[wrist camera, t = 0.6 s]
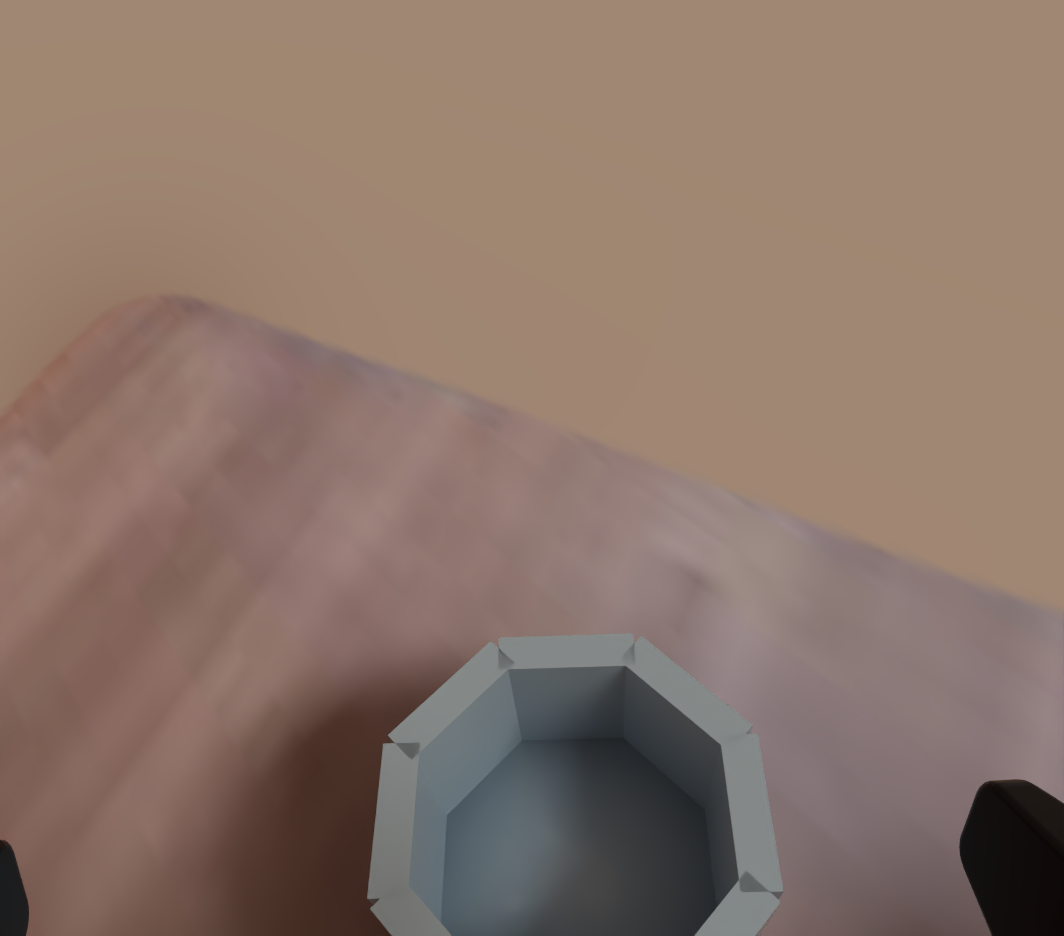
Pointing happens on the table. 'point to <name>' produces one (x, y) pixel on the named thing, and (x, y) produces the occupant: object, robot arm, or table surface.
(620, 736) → the bowl
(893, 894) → the table surface
